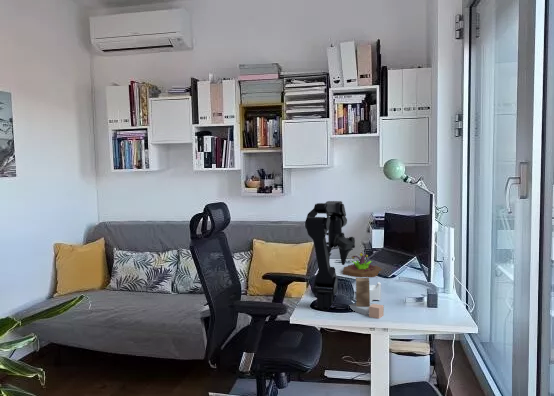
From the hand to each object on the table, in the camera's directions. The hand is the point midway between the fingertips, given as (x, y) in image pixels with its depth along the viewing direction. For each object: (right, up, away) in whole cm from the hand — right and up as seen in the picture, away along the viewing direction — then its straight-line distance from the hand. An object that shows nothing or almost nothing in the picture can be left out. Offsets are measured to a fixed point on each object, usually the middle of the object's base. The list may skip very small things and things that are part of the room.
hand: (335, 266), depth 201 cm
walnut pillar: (+8, -12, -18) cm, 23 cm away
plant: (+19, -10, +42) cm, 47 cm away
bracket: (+14, -13, -1) cm, 20 cm away
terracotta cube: (+12, -15, -25) cm, 32 cm away
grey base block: (+9, -15, -18) cm, 25 cm away
